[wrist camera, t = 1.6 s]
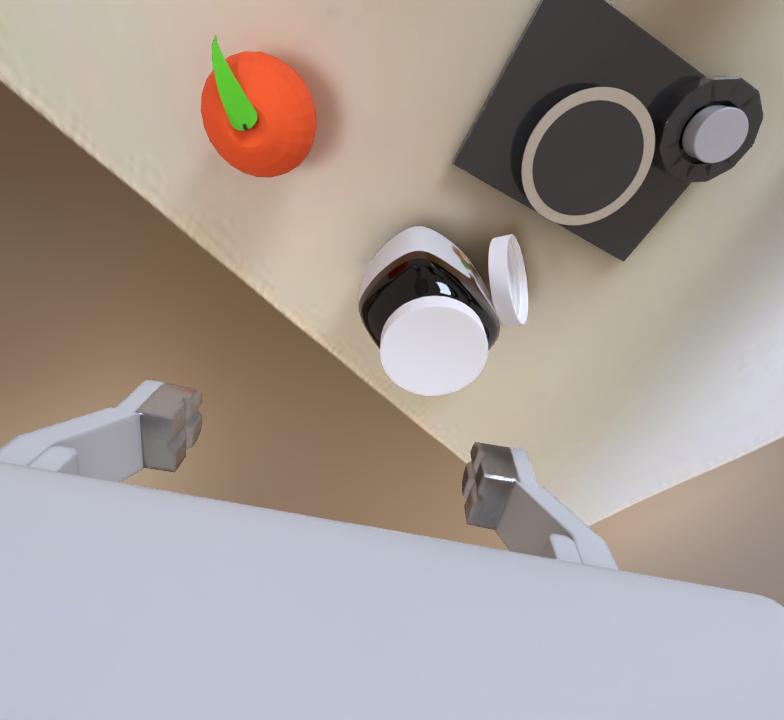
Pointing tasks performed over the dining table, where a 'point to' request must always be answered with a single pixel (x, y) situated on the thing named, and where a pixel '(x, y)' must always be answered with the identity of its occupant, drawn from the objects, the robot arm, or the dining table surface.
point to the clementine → (257, 113)
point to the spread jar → (439, 308)
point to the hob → (602, 69)
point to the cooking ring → (588, 155)
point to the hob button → (715, 133)
